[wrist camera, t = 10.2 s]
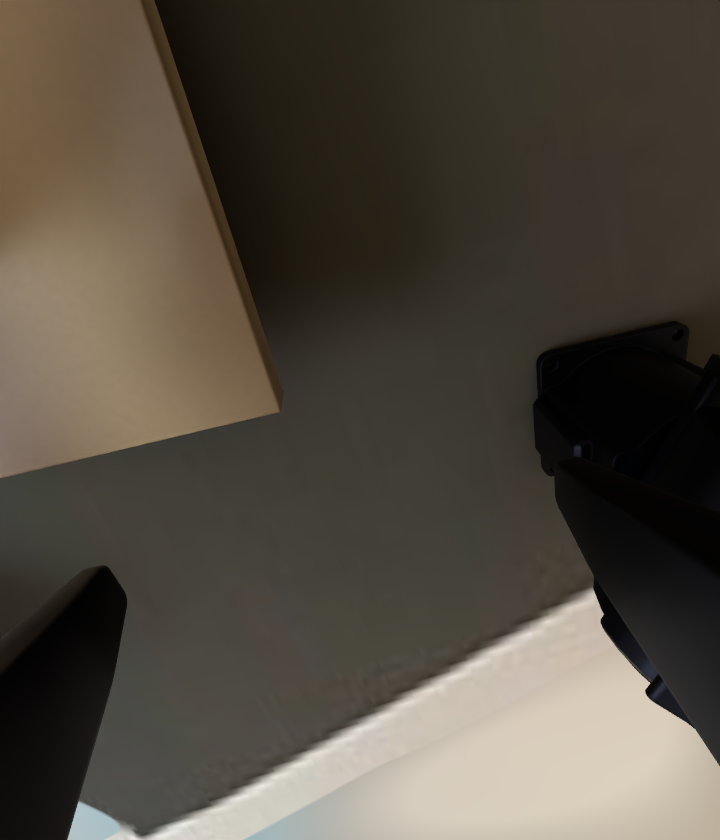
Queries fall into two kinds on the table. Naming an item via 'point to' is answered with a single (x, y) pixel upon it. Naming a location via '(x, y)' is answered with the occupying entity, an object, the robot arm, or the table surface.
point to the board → (112, 245)
